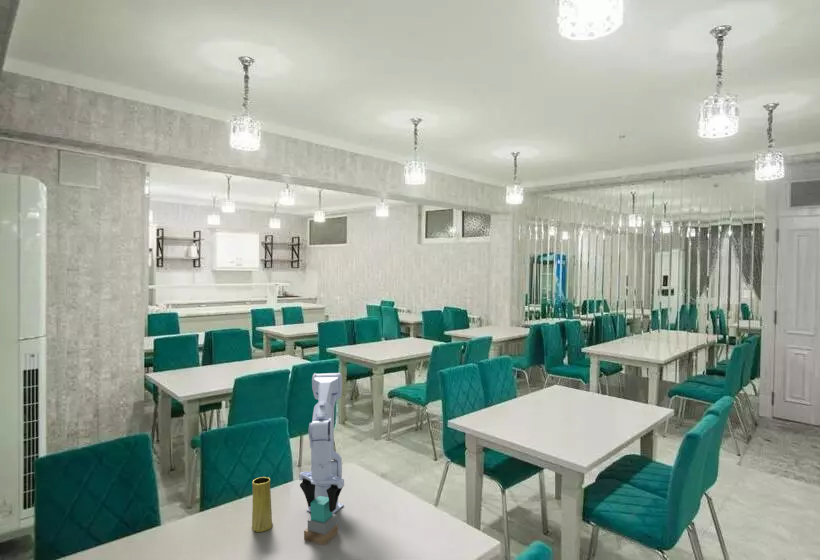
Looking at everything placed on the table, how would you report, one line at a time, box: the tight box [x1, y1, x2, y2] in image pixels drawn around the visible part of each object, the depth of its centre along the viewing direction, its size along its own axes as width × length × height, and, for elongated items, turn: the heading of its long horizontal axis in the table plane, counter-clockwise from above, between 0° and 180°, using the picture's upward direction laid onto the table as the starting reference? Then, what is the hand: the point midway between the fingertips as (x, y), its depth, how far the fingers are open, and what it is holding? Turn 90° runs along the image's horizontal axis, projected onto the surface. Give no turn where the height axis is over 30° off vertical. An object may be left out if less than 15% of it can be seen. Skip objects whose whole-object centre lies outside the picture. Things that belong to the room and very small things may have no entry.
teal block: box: [310, 496, 332, 522], centre depth 136 cm, size 4×4×5 cm
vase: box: [251, 476, 273, 533], centre depth 142 cm, size 6×6×14 cm
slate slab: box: [307, 513, 338, 535], centre depth 136 cm, size 6×6×3 cm
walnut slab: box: [303, 523, 339, 546], centre depth 137 cm, size 7×7×3 cm
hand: (321, 507), depth 136 cm, fingers open, 7 cm apart
